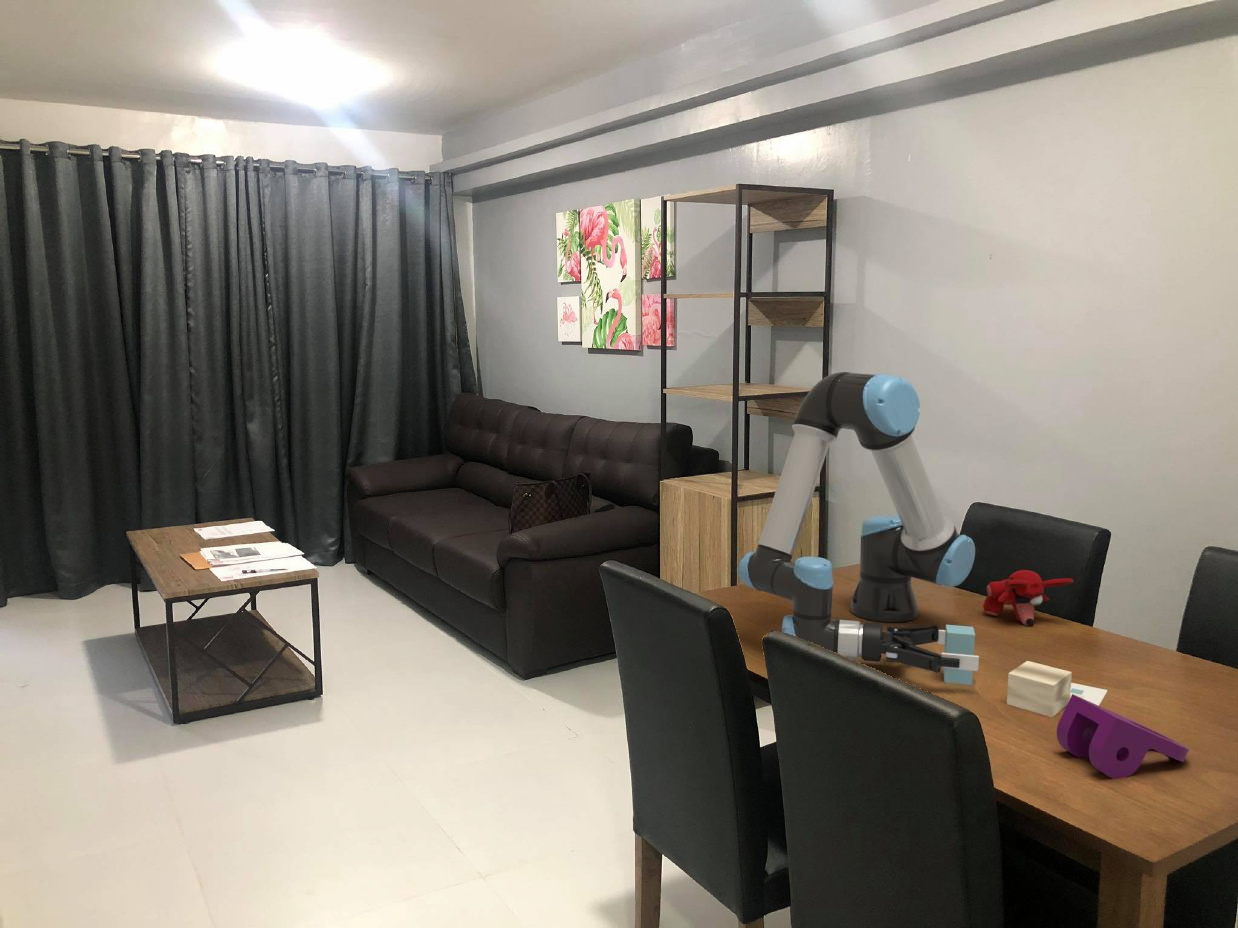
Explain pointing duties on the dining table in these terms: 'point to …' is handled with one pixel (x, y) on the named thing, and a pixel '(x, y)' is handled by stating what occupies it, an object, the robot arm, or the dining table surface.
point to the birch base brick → (1039, 688)
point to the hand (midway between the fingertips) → (975, 651)
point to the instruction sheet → (1088, 693)
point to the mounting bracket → (1110, 738)
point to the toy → (1019, 594)
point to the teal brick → (959, 652)
